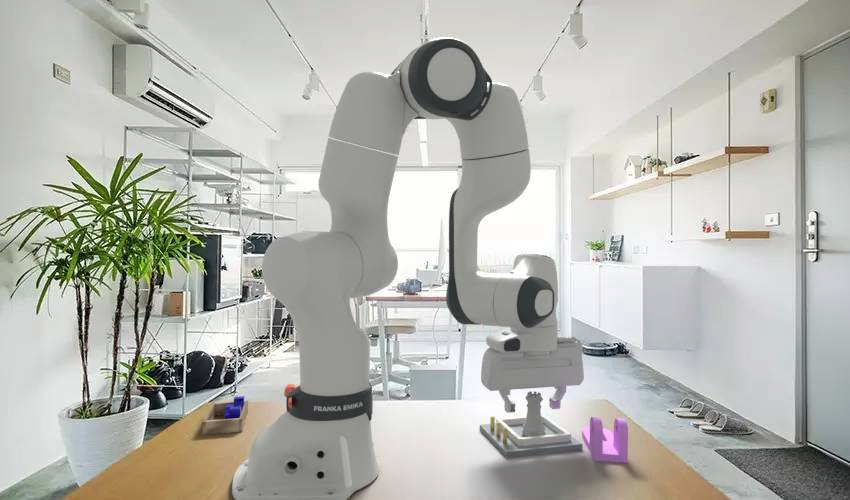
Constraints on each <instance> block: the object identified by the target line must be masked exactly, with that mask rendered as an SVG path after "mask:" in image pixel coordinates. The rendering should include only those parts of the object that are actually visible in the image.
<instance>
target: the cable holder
mask: <svg viewBox="0 0 850 500" xmlns="http://www.w3.org/2000/svg"><path fill="white" fill-rule="evenodd" d="M245 397H246V396H244V395H242V396H240V395H239V396H234V397H233V402H234V404H227V406H226V410H225V415H223V419H235V418H240V415H241V412H242V409H243V406H244V401H245Z"/></svg>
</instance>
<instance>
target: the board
mask: <svg viewBox="0 0 850 500" xmlns="http://www.w3.org/2000/svg"><path fill="white" fill-rule="evenodd" d="M526 417H527V415H526V416H525V415H524V416H514V417H511V416H510V417H501V418H496V417H495V416H493V415H492V416H490V420H489V421H490V423H486V424H485V423H483V424H479V431H480V432H481V433H482V434H483V435H484V436H485V437H486V438H487V439H488V440H489V441H490V442H491V443H492V445H494V447H496V449H497V450H498V451H499V452H500V453H501V454H502V455H503V456H504V457H505V458H506V459H507V458H508V459H509V458H516V457H523V456H524V457H526V456H535V455H543V454H544V455H545V454H553V453H562V452H563V453H564V452H572V451H580V450H582V451H583V443H582V442H580V441H579V440H578V439H577V438H575V437H573V436H572V433H570V432H569V431H568V430H566V429H565V428H563V427H562V426H560V425H559V424H558V423H557V422H555V421H554V420H552V419H551V418H549V417H548V416H547V415H545V414H541V420H542V422H543V425H544V426H545V431H544V432H545V433H546V434H545V435H542V436H532V437H525V436H524V435H523V433H522V430H523V428H522V426H523V424H524V423H525V420H526ZM495 418H496V419H495ZM495 421H496V422H495Z"/></svg>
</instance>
